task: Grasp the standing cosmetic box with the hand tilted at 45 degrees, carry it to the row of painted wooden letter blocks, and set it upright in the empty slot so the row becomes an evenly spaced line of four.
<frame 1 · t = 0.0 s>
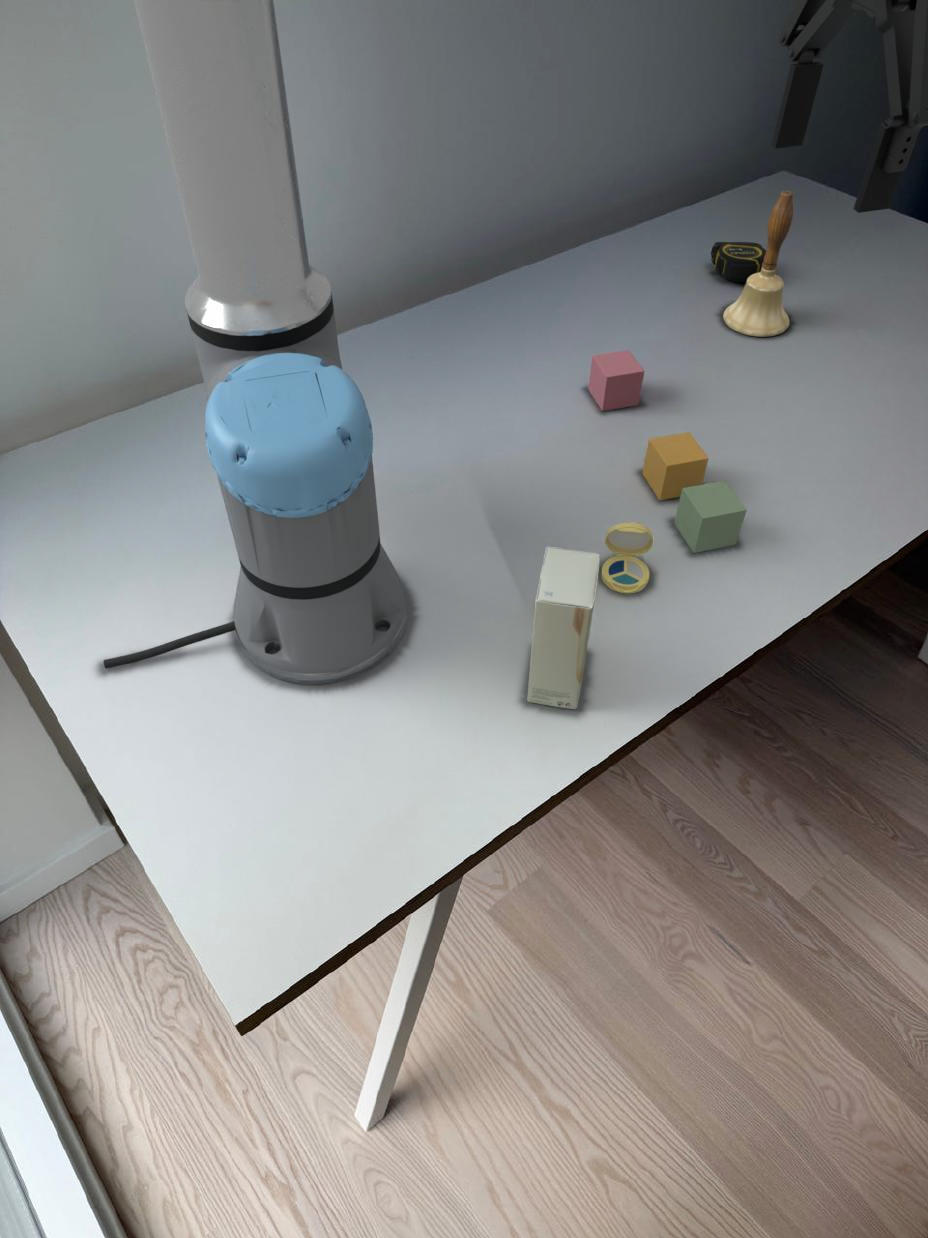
hand: (826, 175, 77), 28 cm above the table, tool pointing down, fingers open, 13 cm apart
tape measure: (733, 274, 123), on the table
hand bell: (755, 321, 114), on the table
cosmetic box: (556, 679, 76), on the table
eyeshadow: (624, 575, 84), on the table
letter blocks: (655, 460, 95), on the table
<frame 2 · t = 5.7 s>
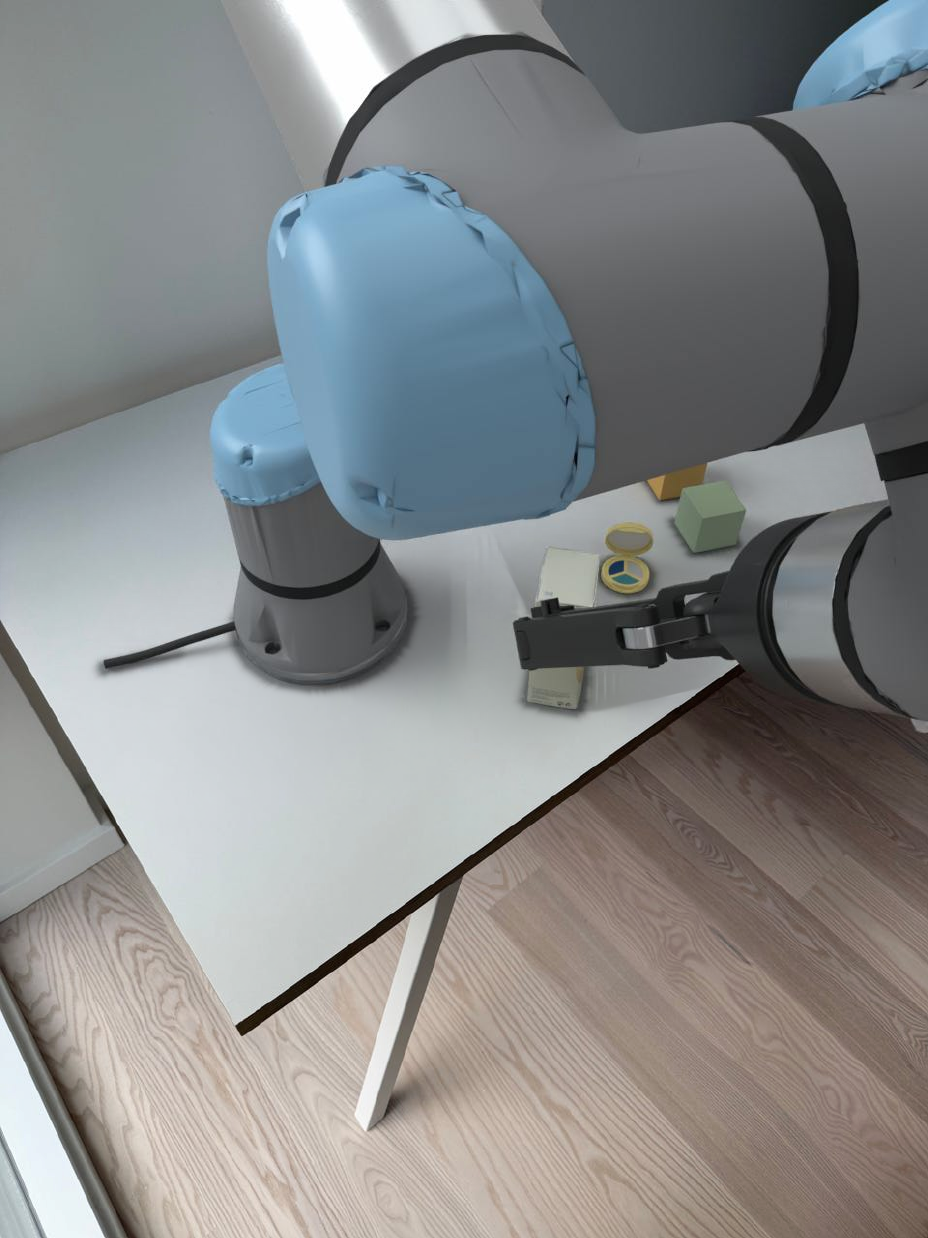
hand: (646, 607, 54), 20 cm above the table, tool tilted 45°, fingers open, 13 cm apart
nothing on the table moved.
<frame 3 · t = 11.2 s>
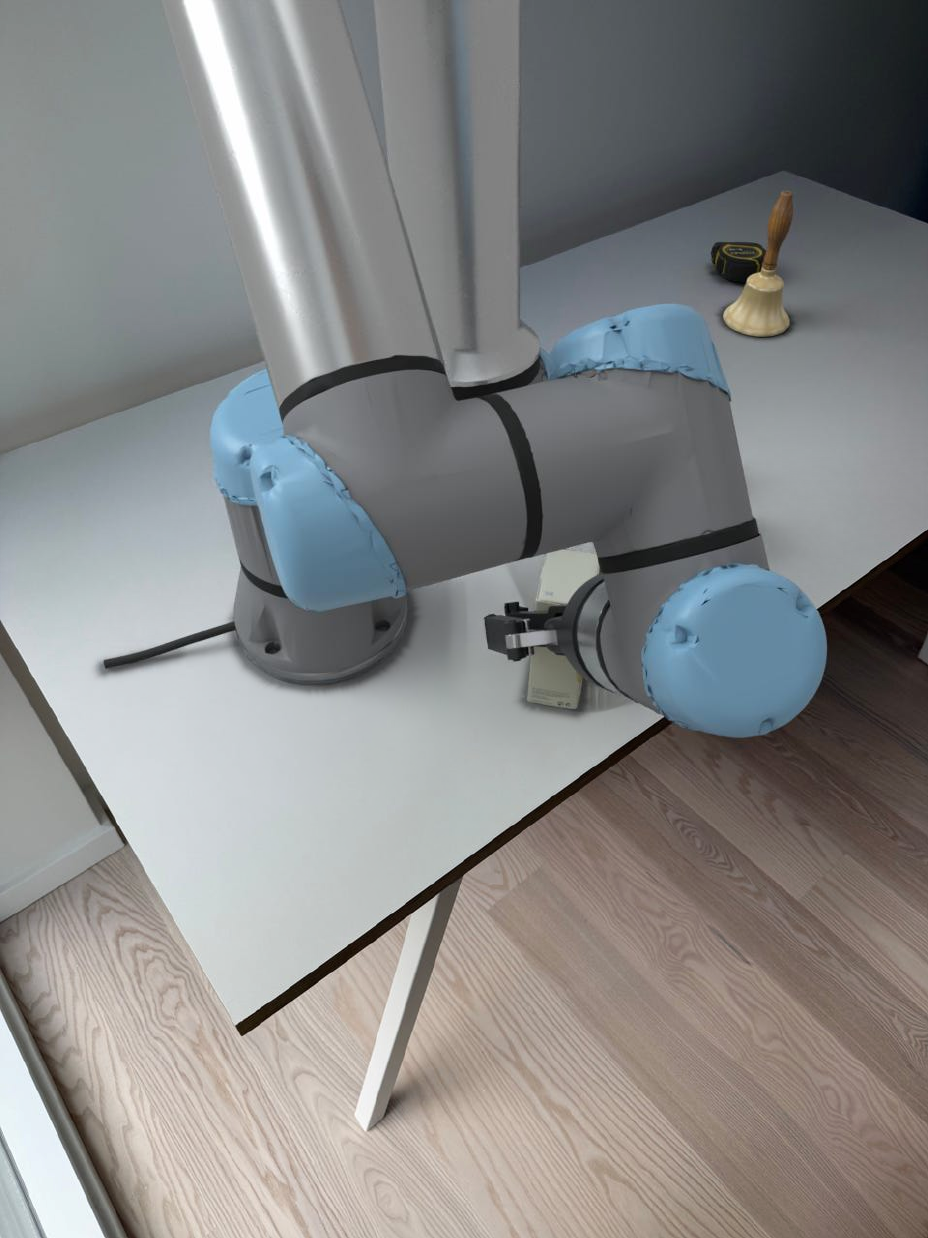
hand: (549, 616, 75), 4 cm above the table, tool tilted 45°, fingers closed on cosmetic box, 6 cm apart
cosmetic box: (556, 679, 76), on the table, touching gripper
everything else where it was.
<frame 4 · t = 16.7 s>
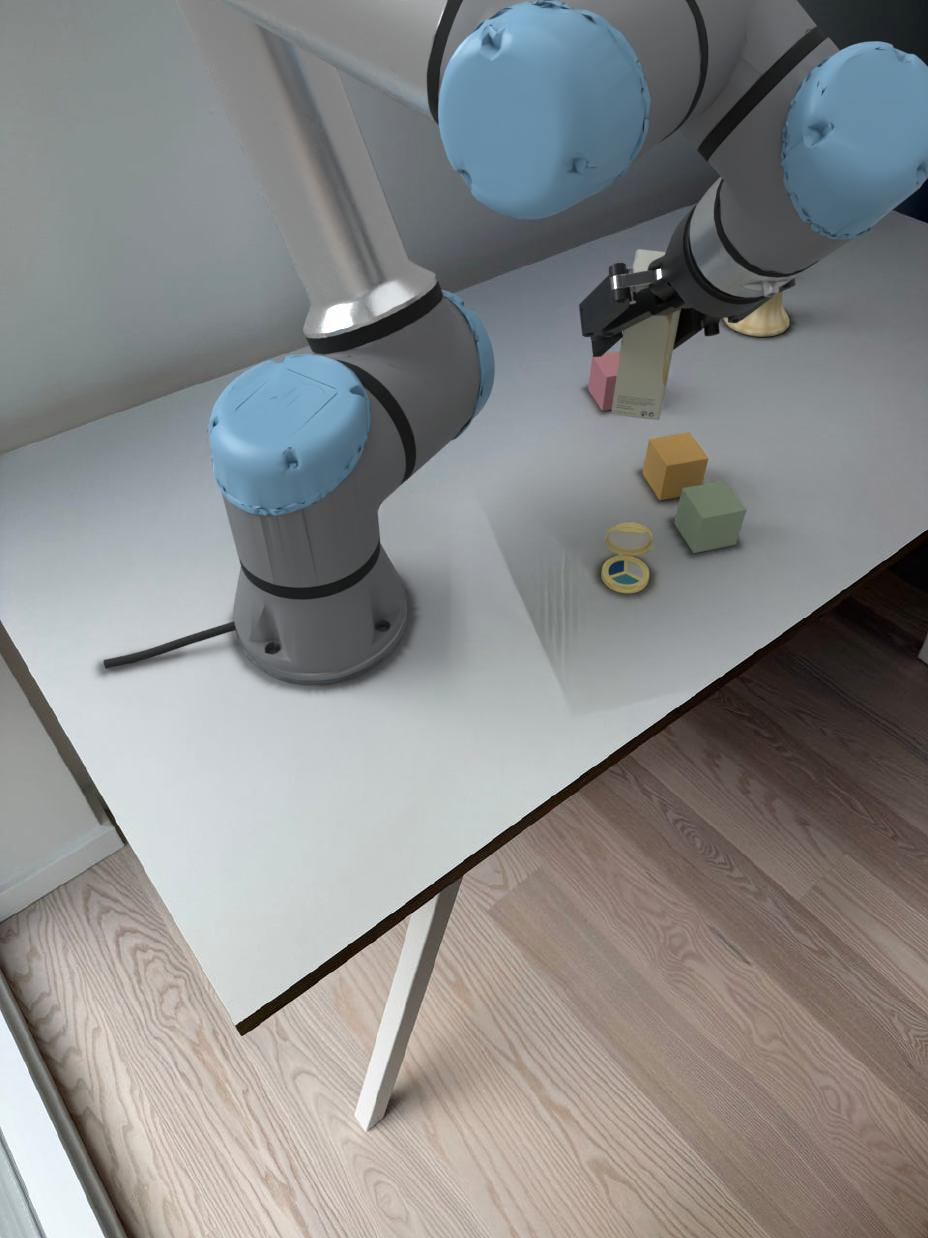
hand: (632, 337, 79), 17 cm above the table, tool tilted 45°, fingers closed on cosmetic box, 6 cm apart
cosmetic box: (637, 400, 80), point 13 cm above the table, touching gripper
everything else where it was.
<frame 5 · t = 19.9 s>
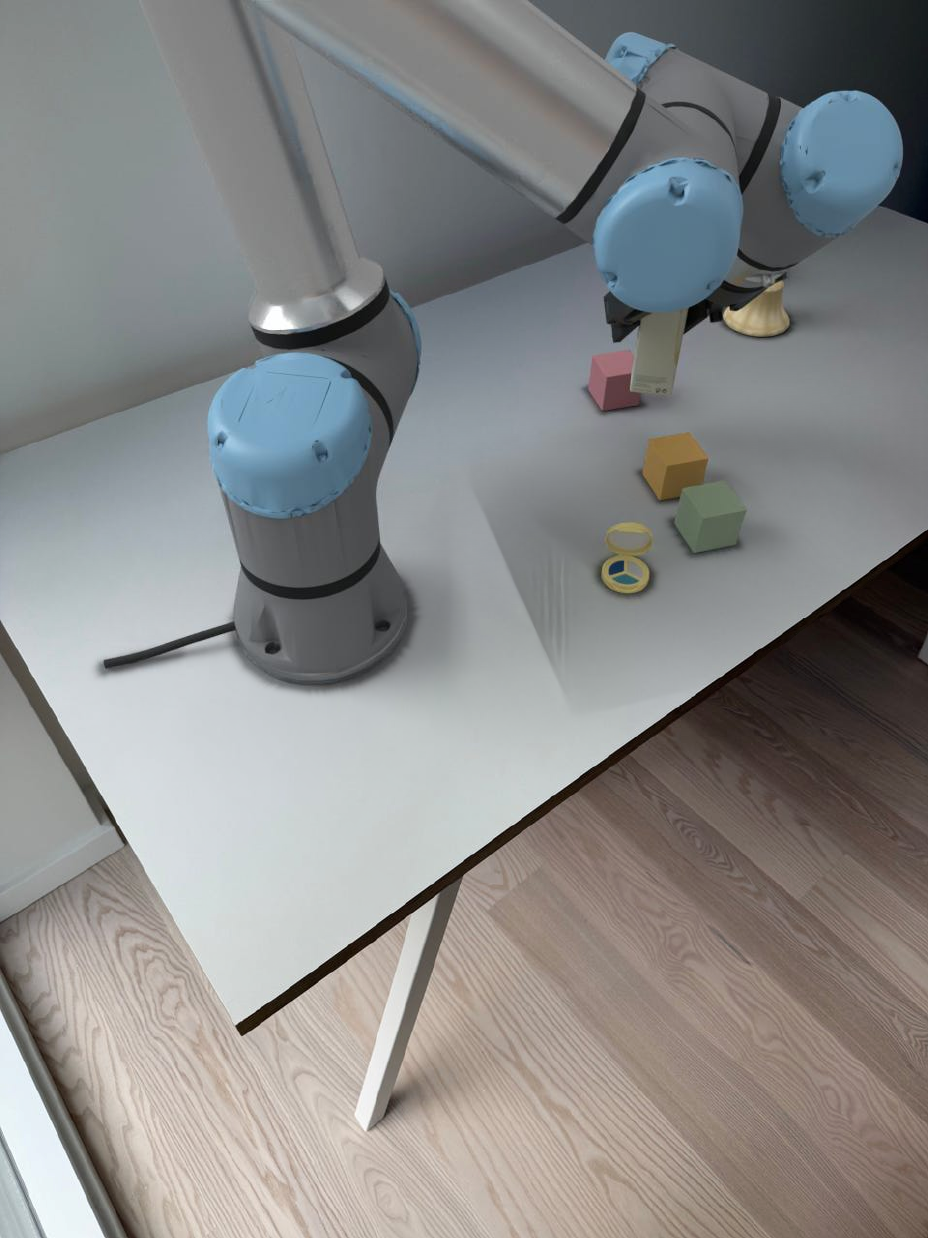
hand: (646, 325, 92), 12 cm above the table, tool tilted 45°, fingers closed on cosmetic box, 6 cm apart
cosmetic box: (651, 379, 92), point 7 cm above the table, touching gripper
everything else where it was.
when the fingers open (4 cm above the table, at t = 22.3 s): cosmetic box stays where it is, on the table.
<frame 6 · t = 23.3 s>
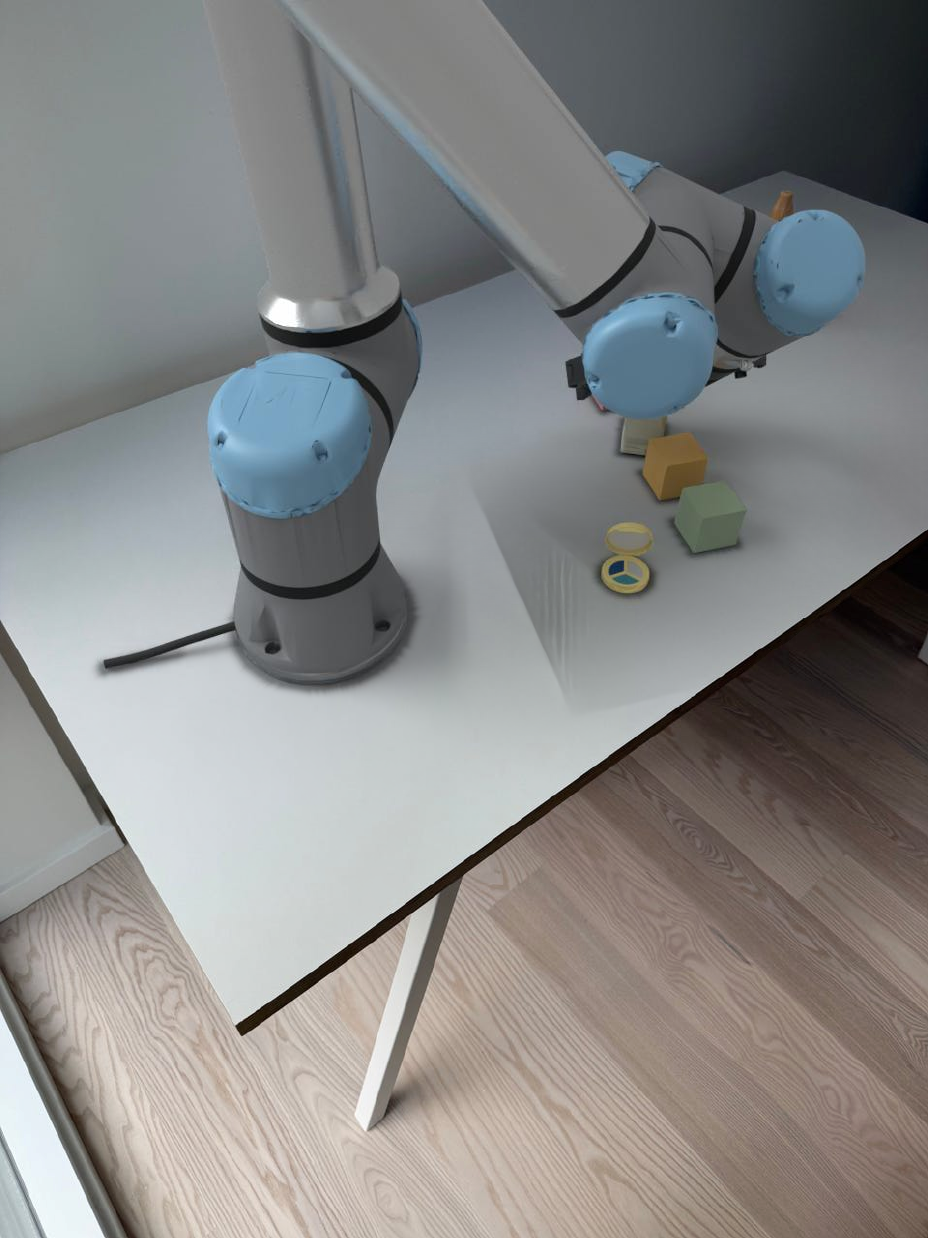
hand: (640, 380, 95), 6 cm above the table, tool tilted 45°, fingers open, 13 cm apart
cosmetic box: (641, 439, 98), on the table
everything else where it was.
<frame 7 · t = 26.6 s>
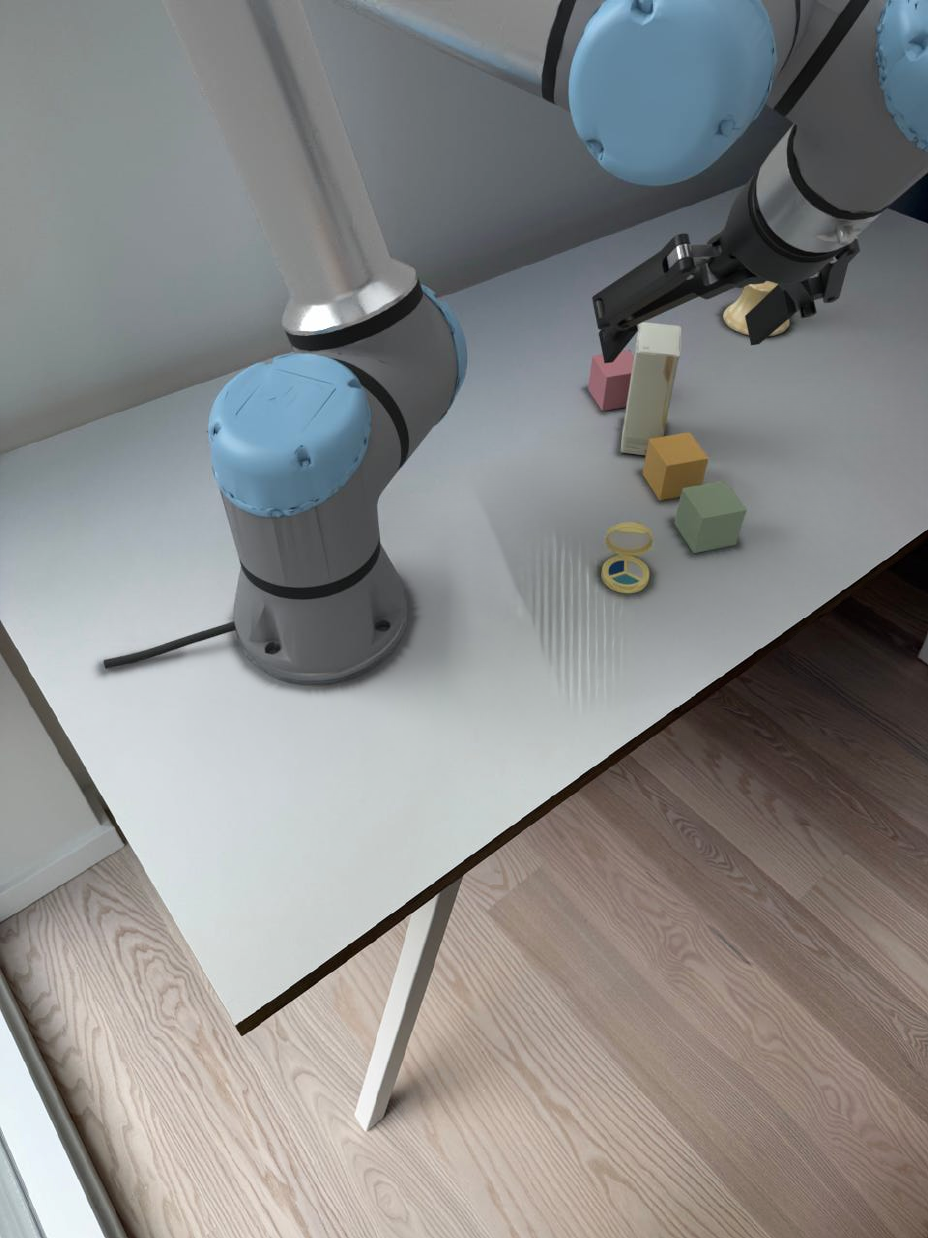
hand: (679, 338, 78), 18 cm above the table, tool tilted 35°, fingers open, 13 cm apart
nothing on the table moved.
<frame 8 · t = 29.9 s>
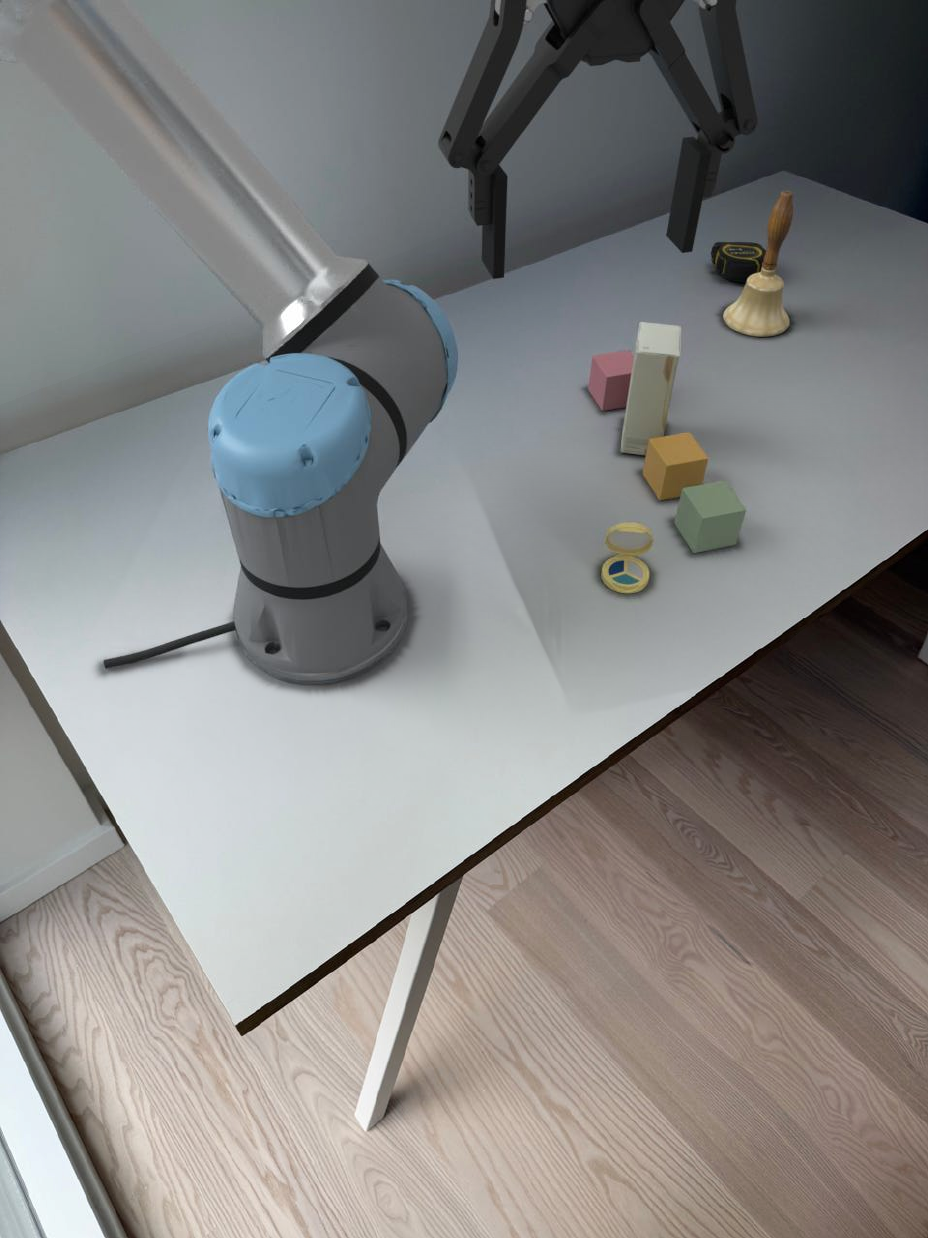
hand: (587, 256, 61), 31 cm above the table, tool pointing down, fingers open, 13 cm apart
nothing on the table moved.
at the end: cosmetic box 0.1 cm from the target spot on the letter blocks, point 0.0 cm above the letter blocks's base; cosmetic box tilted 0°; the gripper is holding nothing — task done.
